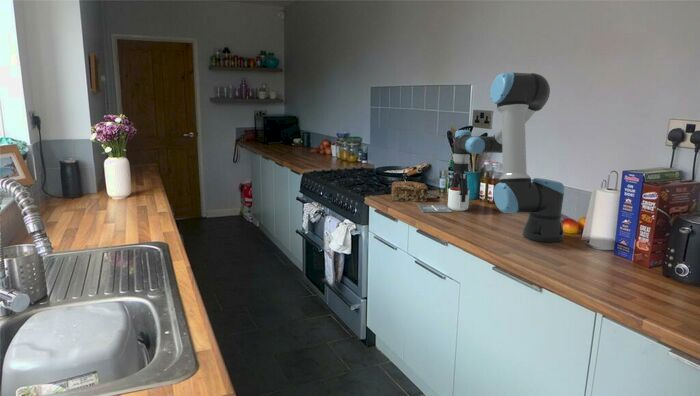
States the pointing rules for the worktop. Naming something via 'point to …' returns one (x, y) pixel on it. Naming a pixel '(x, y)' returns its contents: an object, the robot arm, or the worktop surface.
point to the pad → (434, 209)
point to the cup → (456, 199)
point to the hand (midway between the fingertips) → (457, 205)
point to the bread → (409, 191)
